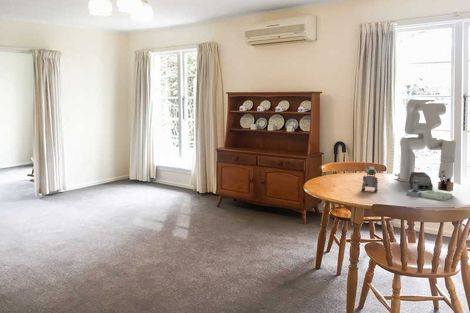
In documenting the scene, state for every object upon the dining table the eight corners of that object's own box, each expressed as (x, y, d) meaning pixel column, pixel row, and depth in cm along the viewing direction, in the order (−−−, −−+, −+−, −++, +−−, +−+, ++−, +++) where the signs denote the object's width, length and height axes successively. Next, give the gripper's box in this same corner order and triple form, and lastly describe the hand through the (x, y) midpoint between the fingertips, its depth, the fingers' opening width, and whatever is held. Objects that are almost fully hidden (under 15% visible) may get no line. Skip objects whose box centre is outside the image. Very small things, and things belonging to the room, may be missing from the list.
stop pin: (410, 195, 252) (411, 180, 251) (413, 194, 255) (414, 179, 253) (416, 196, 250) (417, 181, 248) (419, 195, 252) (420, 180, 251)
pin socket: (406, 195, 253) (406, 190, 252) (411, 193, 257) (412, 189, 257) (417, 197, 247) (418, 192, 247) (423, 195, 252) (423, 191, 251)
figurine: (379, 189, 266) (380, 166, 264) (375, 193, 256) (377, 169, 254) (364, 188, 271) (365, 165, 269) (360, 191, 261) (361, 168, 259)
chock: (437, 189, 256) (438, 181, 255) (441, 188, 259) (441, 180, 258) (449, 191, 251) (450, 183, 250) (452, 190, 254) (453, 182, 253)
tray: (419, 196, 249) (419, 192, 248) (427, 193, 256) (428, 189, 255) (443, 201, 238) (443, 196, 238) (451, 198, 245) (451, 194, 245)
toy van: (414, 193, 258) (415, 177, 256) (408, 185, 282) (409, 170, 280) (433, 194, 255) (434, 178, 254) (425, 186, 279) (426, 171, 278)
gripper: (446, 157, 261) (444, 186, 263) (434, 160, 250) (432, 190, 252) (459, 159, 255) (457, 188, 258) (447, 161, 244) (445, 192, 247)
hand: (445, 189), depth 255 cm, fingers closed on chock, 4 cm apart
